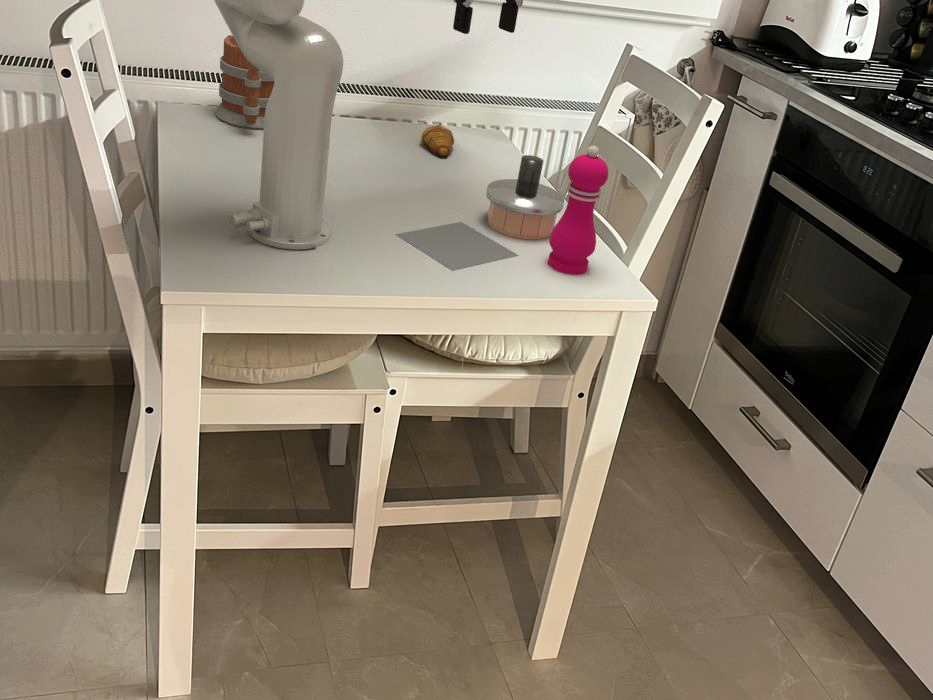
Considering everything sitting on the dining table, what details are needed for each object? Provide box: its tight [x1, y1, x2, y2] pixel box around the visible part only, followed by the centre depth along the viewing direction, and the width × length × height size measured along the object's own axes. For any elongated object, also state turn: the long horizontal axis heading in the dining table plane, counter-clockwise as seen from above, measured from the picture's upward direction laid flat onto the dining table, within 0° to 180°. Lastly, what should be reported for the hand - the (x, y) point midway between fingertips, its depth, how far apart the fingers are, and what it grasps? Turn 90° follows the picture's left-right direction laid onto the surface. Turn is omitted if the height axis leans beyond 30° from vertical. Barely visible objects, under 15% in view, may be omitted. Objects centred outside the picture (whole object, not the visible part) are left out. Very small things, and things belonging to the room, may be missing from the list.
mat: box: [395, 221, 519, 272], centre depth 158 cm, size 14×14×1 cm
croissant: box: [420, 124, 455, 159], centre depth 199 cm, size 14×7×5 cm, turn 14°
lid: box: [485, 154, 565, 216], centre depth 165 cm, size 13×13×7 cm
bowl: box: [487, 200, 558, 241], centre depth 168 cm, size 11×11×5 cm
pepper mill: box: [547, 145, 609, 276], centre depth 153 cm, size 7×7×20 cm
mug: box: [215, 34, 274, 130], centre depth 192 cm, size 14×19×15 cm
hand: (483, 31), depth 157 cm, fingers open, 9 cm apart
